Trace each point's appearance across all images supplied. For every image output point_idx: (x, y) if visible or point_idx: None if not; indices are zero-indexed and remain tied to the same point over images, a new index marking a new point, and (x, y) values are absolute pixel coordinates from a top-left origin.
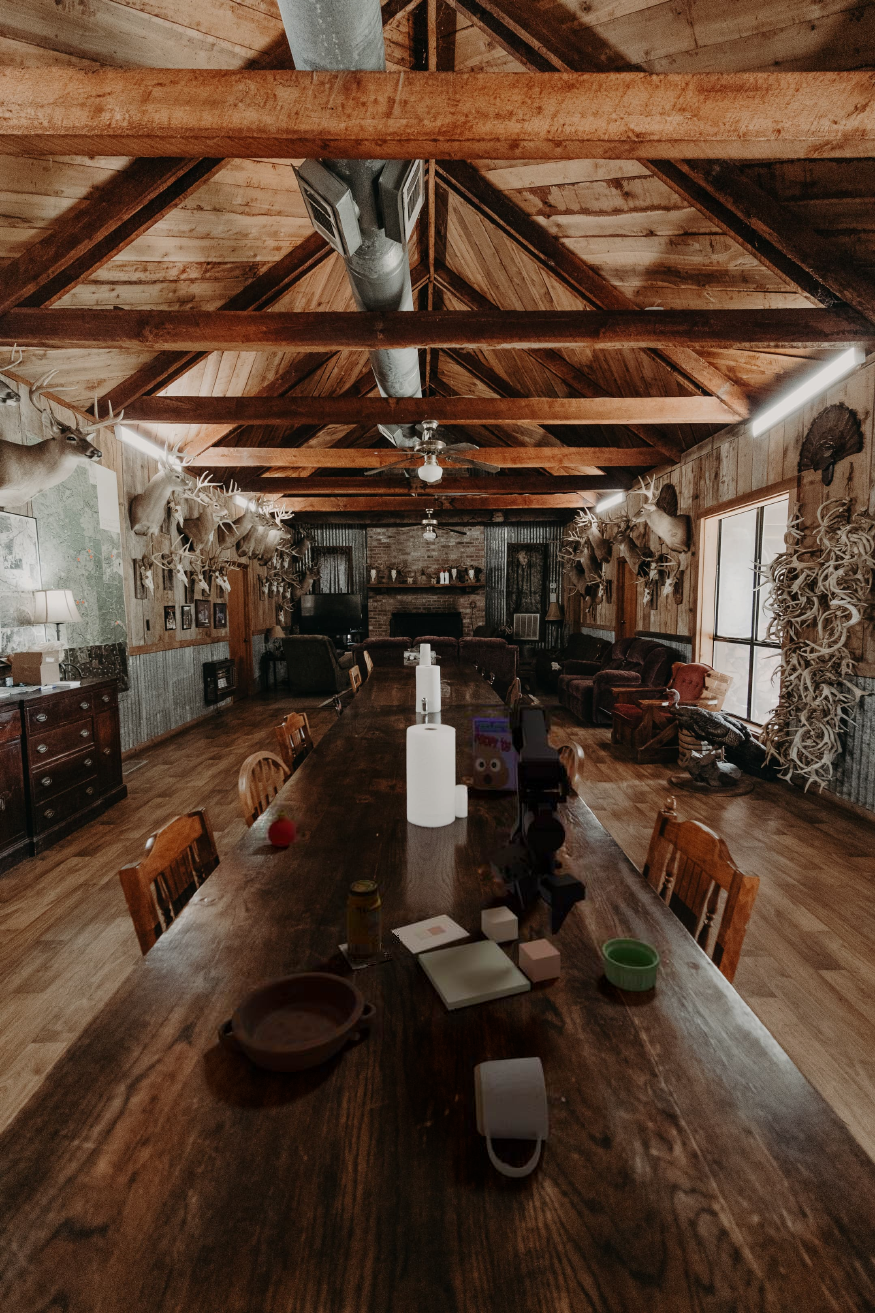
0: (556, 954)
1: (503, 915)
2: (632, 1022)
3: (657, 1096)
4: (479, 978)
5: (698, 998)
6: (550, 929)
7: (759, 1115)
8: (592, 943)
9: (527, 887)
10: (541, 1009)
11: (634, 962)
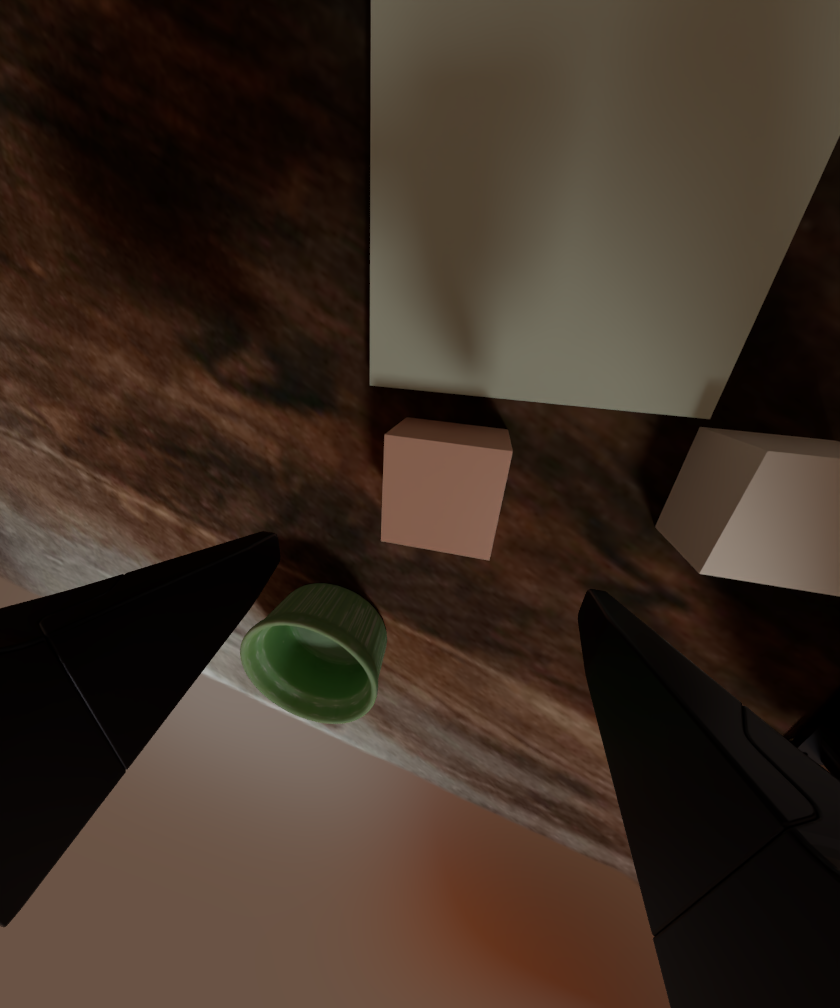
0: (382, 528)
1: (782, 539)
2: (203, 525)
3: (15, 415)
4: (479, 177)
5: None
6: (243, 541)
7: (4, 524)
8: (486, 661)
9: (649, 766)
10: (286, 358)
11: (360, 665)
